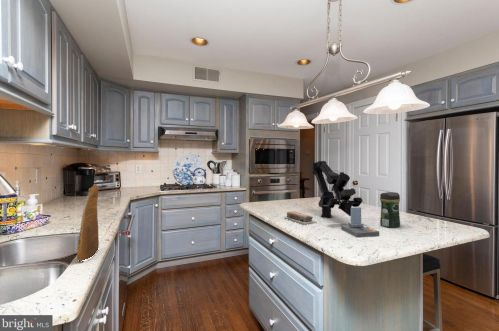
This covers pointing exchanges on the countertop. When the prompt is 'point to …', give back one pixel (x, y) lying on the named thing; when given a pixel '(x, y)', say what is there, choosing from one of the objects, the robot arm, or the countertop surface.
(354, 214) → the switch lever
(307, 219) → the packaged product
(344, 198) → the robot arm
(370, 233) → the switch box
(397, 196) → the coffee jar
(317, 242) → the countertop surface
